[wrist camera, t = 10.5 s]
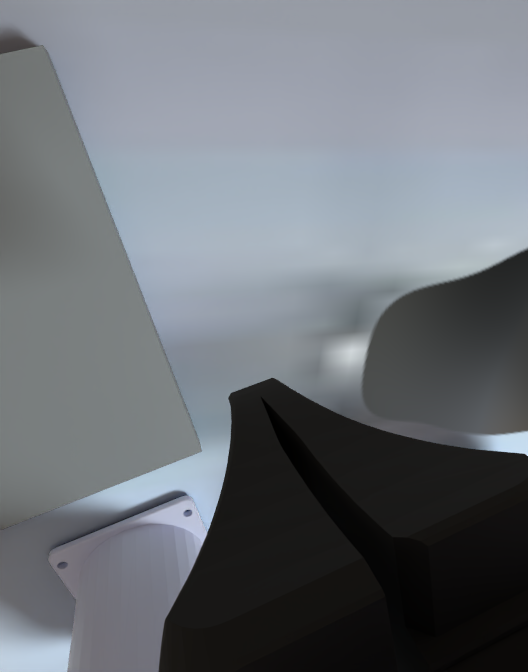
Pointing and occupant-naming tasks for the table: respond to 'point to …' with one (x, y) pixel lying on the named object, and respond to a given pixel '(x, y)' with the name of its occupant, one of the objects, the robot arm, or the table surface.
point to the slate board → (70, 317)
